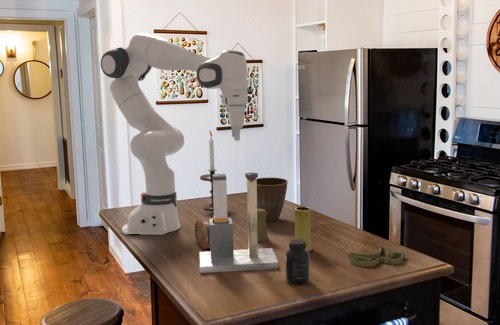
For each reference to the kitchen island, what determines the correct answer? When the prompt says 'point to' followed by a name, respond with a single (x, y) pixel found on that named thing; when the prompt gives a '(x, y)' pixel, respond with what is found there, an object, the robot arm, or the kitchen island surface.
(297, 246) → the supplement bottle
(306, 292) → the kitchen island surface
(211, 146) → the candlestick
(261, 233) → the olive waisted cylinder
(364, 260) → the cookie cutter
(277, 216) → the plant pot
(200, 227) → the tin
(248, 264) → the stand
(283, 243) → the kitchen island surface
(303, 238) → the vase
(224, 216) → the column
